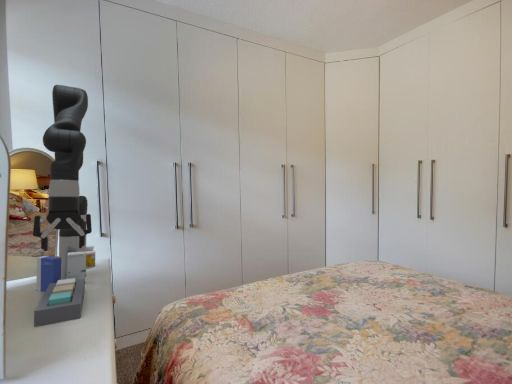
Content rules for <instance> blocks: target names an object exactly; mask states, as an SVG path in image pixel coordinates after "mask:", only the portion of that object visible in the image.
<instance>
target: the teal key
mask: <svg viewBox="0 0 512 384" xmlns="http://www.w3.org/2000/svg"><path fill="white" fill-rule="evenodd" d="M71 301H72V291H70V292H63V293H56V294H51V296H50V298H49V306H51V305H58V304H64V303H70V302H71Z"/></svg>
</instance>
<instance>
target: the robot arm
mask: <svg viewBox="0 0 512 384" xmlns="http://www.w3.org/2000/svg"><path fill="white" fill-rule="evenodd" d="M51 94H52V96H51V97H52V108H53V109H52V110H53V119H54V120H53V122H54V123H53V124H51V125H50V126H49V127H48V128H47V129H46V130H45V132H44V134H43V136H42V143H43V146H44V147H45V148H46V150H47V151H49V152H52V153H54V160H53V161H51V163H50V171H49V172H50V177H49V178H50V180H49V185H48V186H49V187H48V213H47V215H40V214H39V215H35V216H34V219H33V228H32V229H33V230H32V236H33V237H36V238H40V240H41V241H40V248H41V250H43V251H44V252H48V250H49V237H48V236H49V235H50V233H51V232H52V231H54V229H56V230H58V256H59V257H61V280H64V279H66V277H67V255H68V253H70V252H83V251H86V246H87V235H88V234H91V233H92V231H93V230H92V215H91V214H90V213H88V199H87V196H85V195H80V182H79V181H80V180H79V179H80V177H79V176H80V175H79V174H80V172H79V171H80V169H81V168H82V166H83V164H84V151H85V148H86V145H87V138H86V136H85V134H84V133H83V132H81V129H82V128H81V127H82V121H83V119H84V118H85V116H86V114H87V111H88V107H89V96H88V94H87V91H86V90H84V89H83V88H81V87H74V86H68V85H64V84H55V85H54V86H53V87H52V93H51ZM45 220H46V222H48V223H49V226H48V227H47V228H46V229H45V230H44V231H43V232H41V227H42V226H41V224H42V223H44V222H45Z"/></svg>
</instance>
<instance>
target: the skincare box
mask: <svg viewBox="0 0 512 384" xmlns="http://www.w3.org/2000/svg"><path fill="white" fill-rule="evenodd" d="M86 276H87V269H86V251H83V252H70V253H68V255H67V277H66V279H72V278H75V280H82V279H85V280H86Z"/></svg>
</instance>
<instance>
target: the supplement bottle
mask: <svg viewBox="0 0 512 384" xmlns="http://www.w3.org/2000/svg"><path fill="white" fill-rule="evenodd" d="M94 248H95V246H94V245H92V244H90V245H86V270H87V269H92V268H94V267H96V250H95V249H94Z"/></svg>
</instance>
